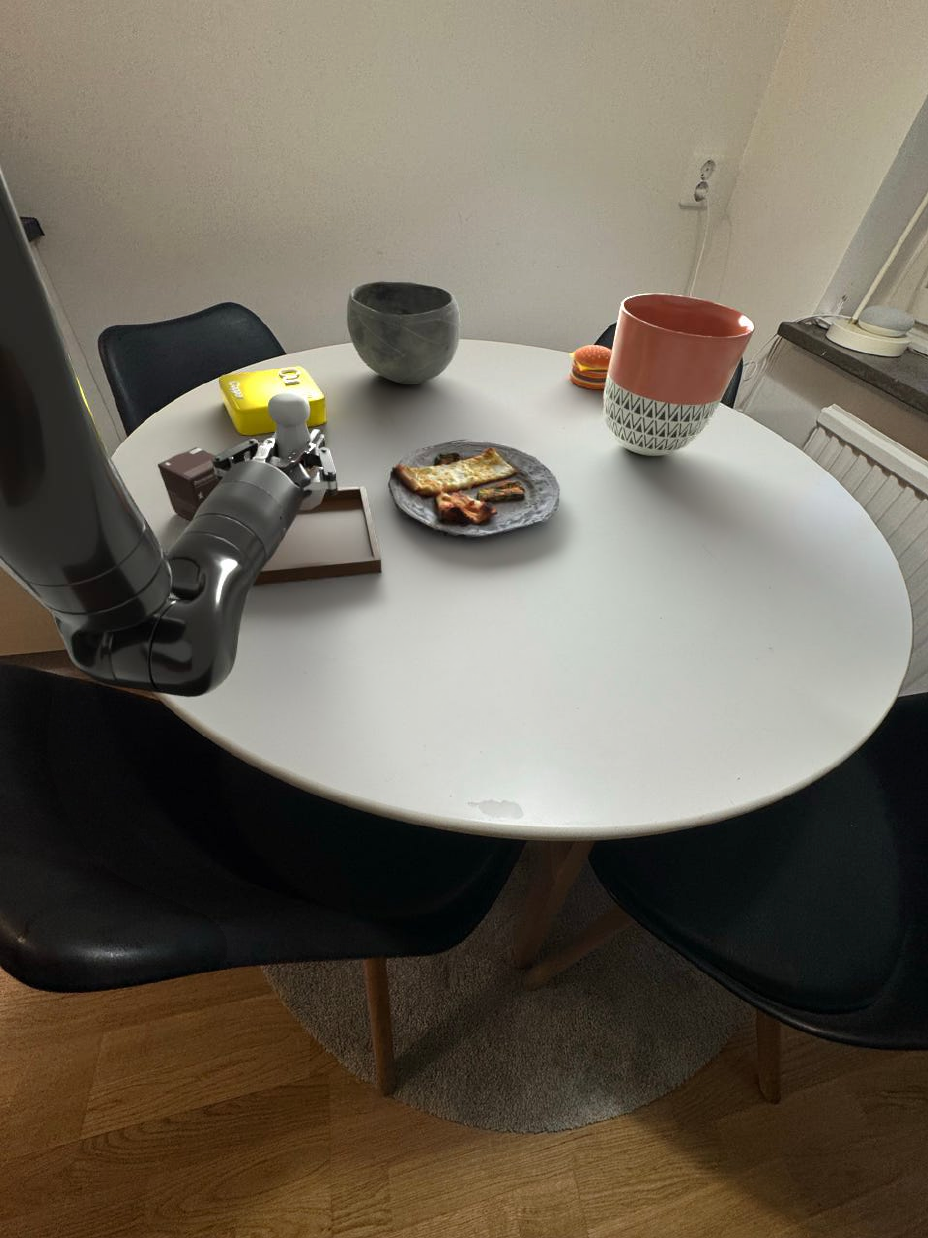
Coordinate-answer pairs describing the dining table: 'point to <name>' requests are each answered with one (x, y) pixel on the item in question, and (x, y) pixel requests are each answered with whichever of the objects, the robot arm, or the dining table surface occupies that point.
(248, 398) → the element tile
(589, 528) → the dining table surface
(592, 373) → the hamburger
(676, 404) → the planter
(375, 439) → the dining table surface
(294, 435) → the salt shaker
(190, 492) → the box
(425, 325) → the bowl
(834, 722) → the dining table surface
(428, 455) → the food plate
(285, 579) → the tray
